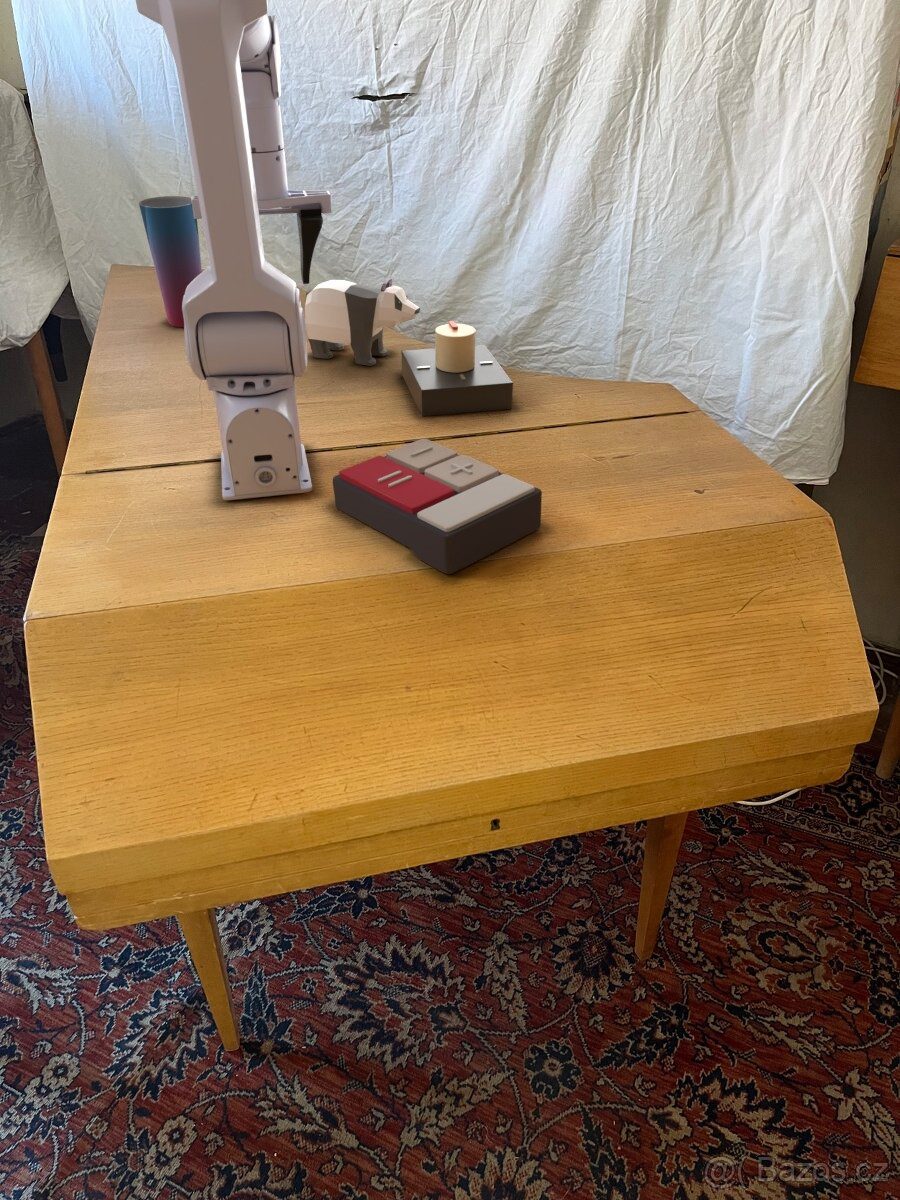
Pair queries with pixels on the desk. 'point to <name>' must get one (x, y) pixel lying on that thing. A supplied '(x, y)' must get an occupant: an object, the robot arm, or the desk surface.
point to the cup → (172, 249)
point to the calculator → (439, 503)
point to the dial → (455, 347)
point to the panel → (456, 384)
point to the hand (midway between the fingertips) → (271, 283)
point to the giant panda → (354, 317)
